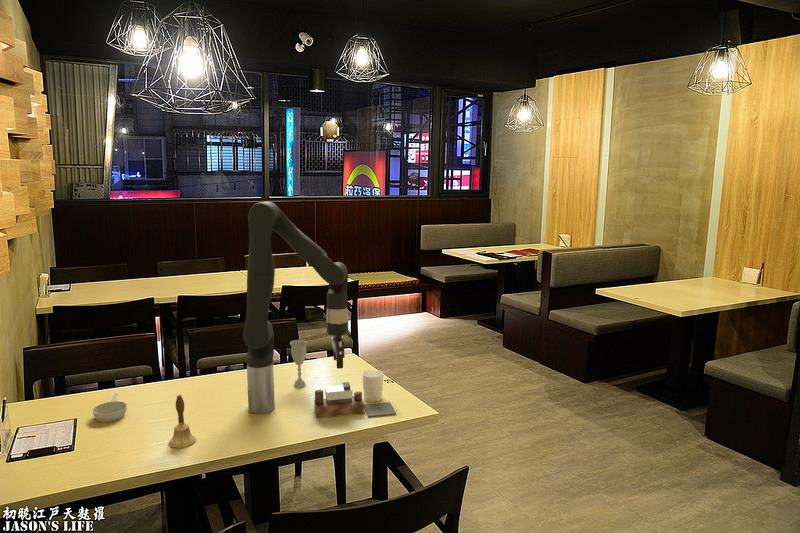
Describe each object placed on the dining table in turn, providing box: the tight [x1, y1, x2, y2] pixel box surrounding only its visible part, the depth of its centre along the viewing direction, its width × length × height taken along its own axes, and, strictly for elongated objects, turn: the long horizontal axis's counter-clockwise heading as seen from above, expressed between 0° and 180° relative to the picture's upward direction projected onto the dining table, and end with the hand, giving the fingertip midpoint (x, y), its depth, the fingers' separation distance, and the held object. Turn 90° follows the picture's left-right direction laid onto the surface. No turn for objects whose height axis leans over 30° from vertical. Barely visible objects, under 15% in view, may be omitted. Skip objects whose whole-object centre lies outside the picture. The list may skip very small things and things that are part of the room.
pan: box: [92, 392, 128, 423], centre depth 208 cm, size 11×18×4 cm, turn 16°
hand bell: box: [168, 394, 197, 449], centre depth 185 cm, size 8×8×16 cm
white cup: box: [361, 369, 384, 402], centre depth 221 cm, size 8×8×10 cm
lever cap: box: [324, 381, 353, 400], centre depth 208 cm, size 9×6×4 cm, turn 104°
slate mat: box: [364, 401, 397, 418], centre depth 211 cm, size 10×10×1 cm
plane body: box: [313, 389, 365, 419], centre depth 209 cm, size 17×7×8 cm, turn 104°
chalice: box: [289, 339, 308, 389], centre depth 232 cm, size 7×7×18 cm
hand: (338, 363), depth 206 cm, fingers open, 8 cm apart
